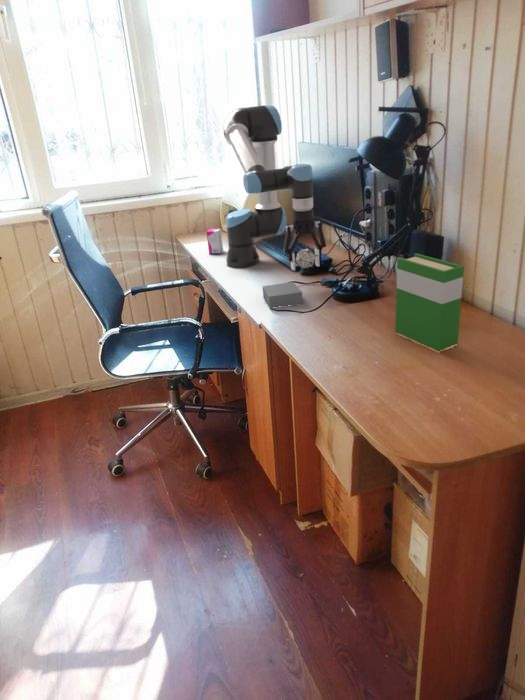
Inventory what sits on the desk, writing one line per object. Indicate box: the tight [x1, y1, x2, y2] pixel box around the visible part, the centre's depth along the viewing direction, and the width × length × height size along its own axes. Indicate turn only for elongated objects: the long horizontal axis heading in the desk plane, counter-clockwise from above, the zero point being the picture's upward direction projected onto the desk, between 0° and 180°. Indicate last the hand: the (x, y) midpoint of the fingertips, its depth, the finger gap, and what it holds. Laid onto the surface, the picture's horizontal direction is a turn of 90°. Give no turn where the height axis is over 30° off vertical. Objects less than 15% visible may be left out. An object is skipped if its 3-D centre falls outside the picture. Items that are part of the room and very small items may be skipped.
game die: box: [295, 245, 318, 271], centre depth 208 cm, size 9×8×10 cm
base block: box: [262, 281, 303, 309], centre depth 200 cm, size 12×12×5 cm
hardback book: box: [394, 253, 465, 351], centre depth 157 cm, size 18×7×24 cm, turn 30°
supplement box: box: [206, 228, 224, 255], centre depth 266 cm, size 6×6×12 cm
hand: (305, 267), depth 210 cm, fingers closed on game die, 9 cm apart
